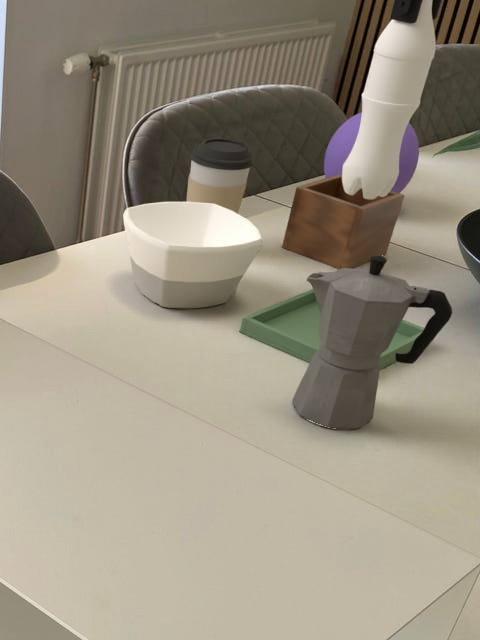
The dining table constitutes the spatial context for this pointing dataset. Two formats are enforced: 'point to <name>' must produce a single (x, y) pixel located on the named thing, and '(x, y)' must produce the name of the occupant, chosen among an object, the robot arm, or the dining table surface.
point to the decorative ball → (346, 140)
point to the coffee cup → (219, 173)
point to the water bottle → (390, 103)
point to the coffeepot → (360, 340)
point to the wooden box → (340, 223)
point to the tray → (311, 329)
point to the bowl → (189, 252)
